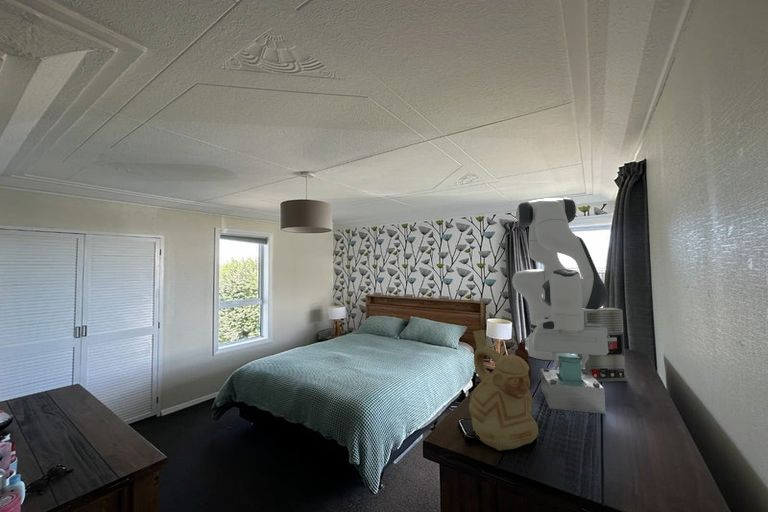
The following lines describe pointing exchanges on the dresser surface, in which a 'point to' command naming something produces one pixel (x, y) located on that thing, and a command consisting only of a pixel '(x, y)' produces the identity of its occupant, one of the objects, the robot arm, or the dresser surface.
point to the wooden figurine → (523, 355)
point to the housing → (573, 392)
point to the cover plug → (570, 368)
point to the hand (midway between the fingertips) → (569, 367)
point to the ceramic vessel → (502, 399)
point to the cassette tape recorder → (614, 361)
